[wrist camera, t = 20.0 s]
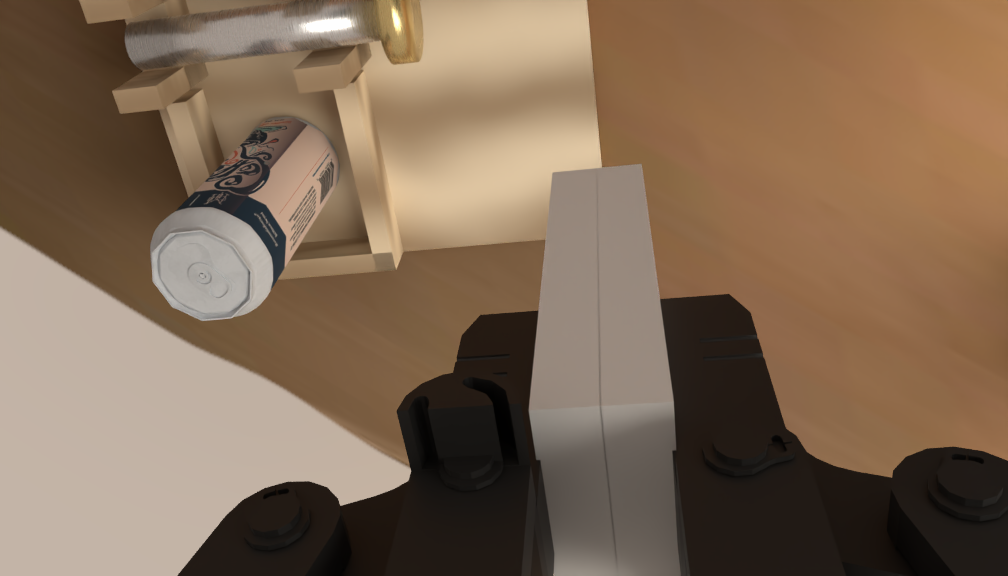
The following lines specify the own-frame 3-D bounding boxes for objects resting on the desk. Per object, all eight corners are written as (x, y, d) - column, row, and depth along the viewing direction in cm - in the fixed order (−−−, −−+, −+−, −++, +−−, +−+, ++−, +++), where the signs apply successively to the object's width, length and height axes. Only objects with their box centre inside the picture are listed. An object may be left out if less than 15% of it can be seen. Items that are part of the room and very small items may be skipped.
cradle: (112, -50, 39) (45, -27, 35) (576, -116, 36) (574, -102, 32) (216, 262, 47) (173, 316, 42) (607, 229, 44) (609, 283, 39)
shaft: (143, -12, 38) (98, 8, 35) (410, -48, 36) (392, -31, 33) (172, 78, 40) (132, 106, 36) (428, 48, 38) (411, 73, 35)
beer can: (287, 92, 41) (187, 193, 31) (362, 162, 43) (290, 281, 32) (227, 156, 43) (114, 272, 33) (301, 221, 45) (215, 352, 34)
